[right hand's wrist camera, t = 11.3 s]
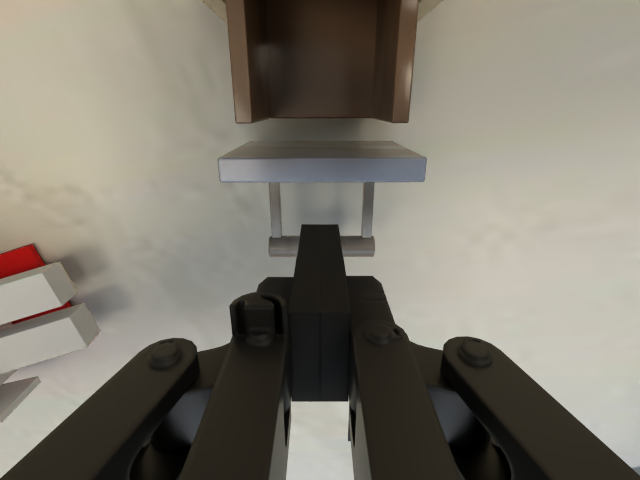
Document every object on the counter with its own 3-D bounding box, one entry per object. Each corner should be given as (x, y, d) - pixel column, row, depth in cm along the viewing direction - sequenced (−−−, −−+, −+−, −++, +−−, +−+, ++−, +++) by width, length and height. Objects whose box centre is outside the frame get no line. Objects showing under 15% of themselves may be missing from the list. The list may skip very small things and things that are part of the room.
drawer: (386, 233, 27) (413, 286, 19) (256, 234, 27) (230, 286, 19) (417, -211, 18) (492, -449, 10) (224, -210, 18) (152, -449, 10)
